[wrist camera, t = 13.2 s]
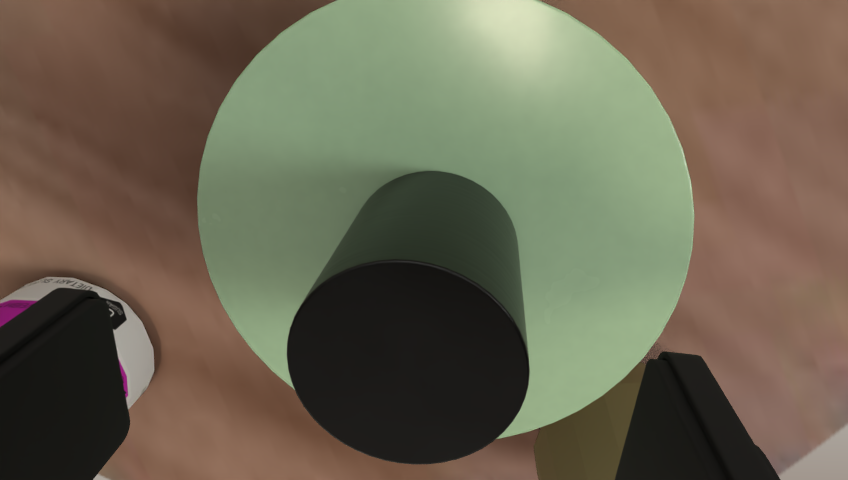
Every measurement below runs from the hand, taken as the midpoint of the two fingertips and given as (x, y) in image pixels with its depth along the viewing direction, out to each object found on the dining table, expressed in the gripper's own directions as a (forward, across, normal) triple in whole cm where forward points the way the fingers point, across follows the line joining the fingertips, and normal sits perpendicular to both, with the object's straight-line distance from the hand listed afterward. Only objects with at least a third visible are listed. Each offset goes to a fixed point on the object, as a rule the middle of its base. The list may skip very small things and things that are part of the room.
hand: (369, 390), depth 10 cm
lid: (+7, -1, 0) cm, 7 cm away
